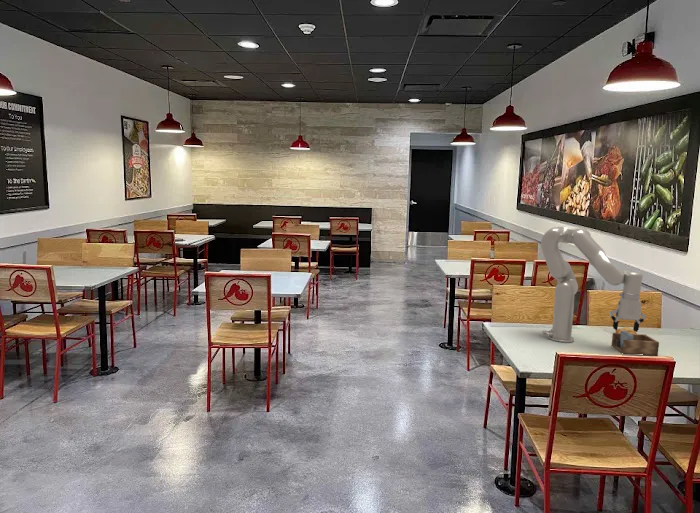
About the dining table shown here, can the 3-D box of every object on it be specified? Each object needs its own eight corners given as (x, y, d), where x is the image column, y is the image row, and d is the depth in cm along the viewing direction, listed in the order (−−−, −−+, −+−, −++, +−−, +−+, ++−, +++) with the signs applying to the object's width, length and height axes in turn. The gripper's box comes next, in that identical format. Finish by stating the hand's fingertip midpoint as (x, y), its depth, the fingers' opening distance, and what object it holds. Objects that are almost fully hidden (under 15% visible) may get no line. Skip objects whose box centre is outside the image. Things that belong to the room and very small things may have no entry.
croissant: (642, 352, 270) (651, 339, 269) (627, 343, 269) (636, 329, 268) (619, 339, 291) (627, 327, 290) (605, 331, 290) (613, 319, 289)
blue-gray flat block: (626, 351, 255) (628, 335, 254) (618, 345, 263) (620, 330, 262) (632, 351, 254) (633, 335, 253) (624, 346, 263) (625, 330, 262)
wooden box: (623, 354, 252) (624, 340, 252) (611, 345, 266) (612, 332, 265) (657, 356, 251) (659, 342, 250) (643, 347, 265) (645, 334, 264)
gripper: (615, 296, 253) (610, 330, 255) (652, 300, 251) (646, 334, 254) (609, 293, 260) (604, 326, 263) (645, 296, 259) (639, 329, 261)
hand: (625, 330), depth 258 cm, fingers open, 9 cm apart
